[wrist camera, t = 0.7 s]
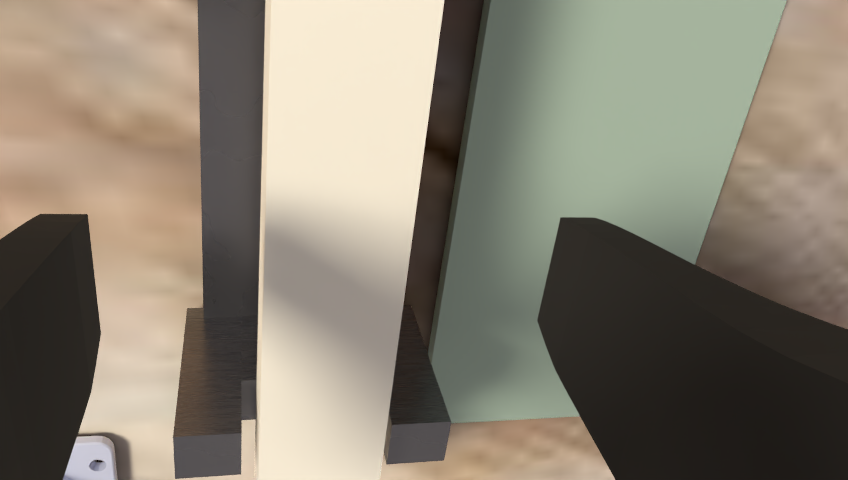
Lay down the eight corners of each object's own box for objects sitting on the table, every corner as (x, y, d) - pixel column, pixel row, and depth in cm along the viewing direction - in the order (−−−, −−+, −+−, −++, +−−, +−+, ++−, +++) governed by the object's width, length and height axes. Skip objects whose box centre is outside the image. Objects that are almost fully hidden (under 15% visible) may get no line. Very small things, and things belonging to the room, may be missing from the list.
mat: (636, 402, 30) (643, 412, 29) (418, 413, 27) (421, 425, 27) (828, -163, 20) (843, -162, 20) (517, -214, 18) (526, -215, 17)
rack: (401, 344, 26) (440, 476, 20) (189, 350, 24) (175, 495, 19) (484, -261, 17) (585, -292, 12) (169, -318, 16) (135, -383, 10)
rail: (356, 459, 22) (371, 542, 20) (254, 465, 22) (256, 553, 19) (450, -384, 13) (502, -432, 10) (275, -422, 12) (284, -486, 10)
